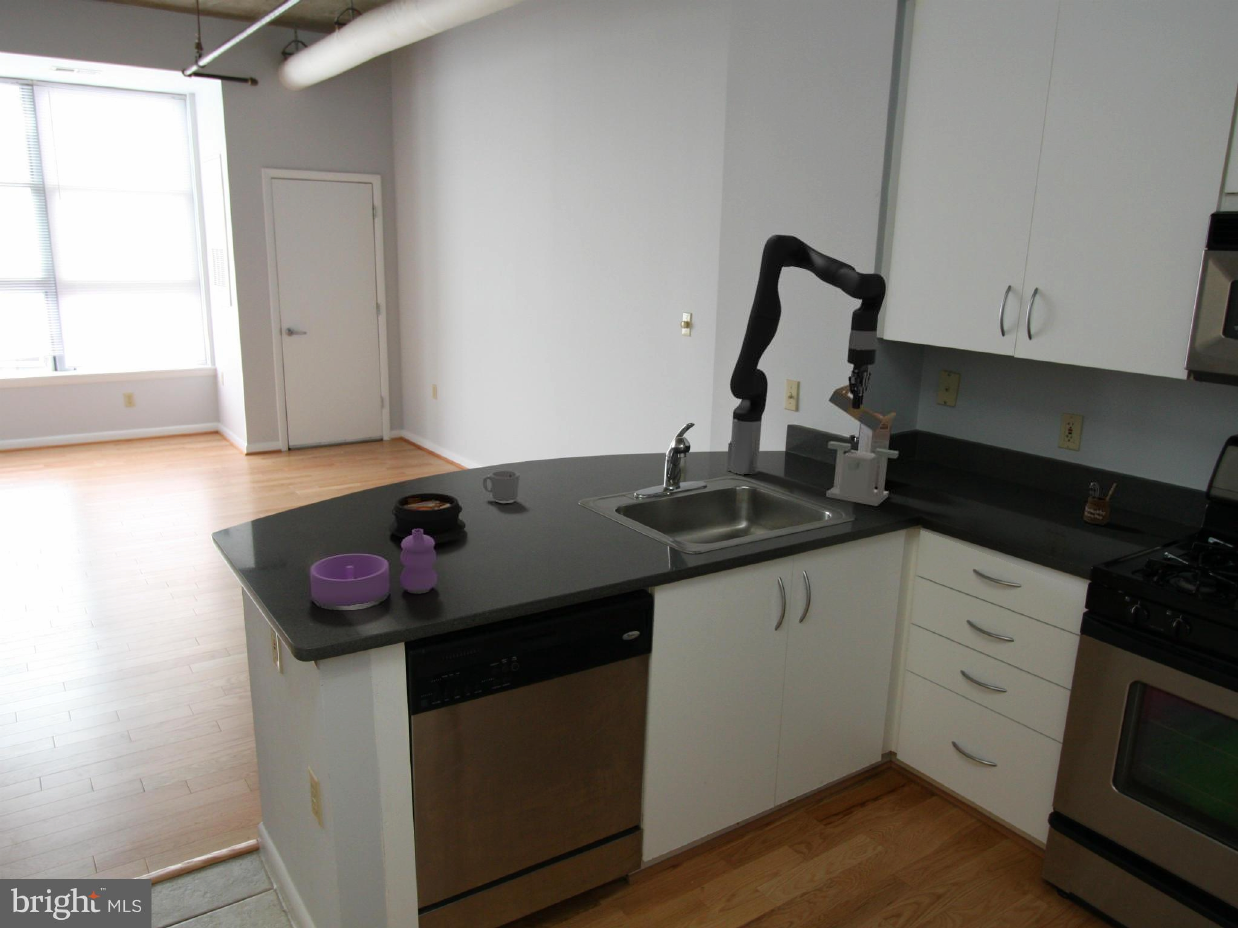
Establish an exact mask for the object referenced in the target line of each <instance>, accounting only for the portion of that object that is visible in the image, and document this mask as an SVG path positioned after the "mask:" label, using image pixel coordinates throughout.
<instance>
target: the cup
mask: <svg viewBox="0 0 1238 928" xmlns="http://www.w3.org/2000/svg"><path fill="white" fill-rule="evenodd" d="M520 476H521V475H520V473H519V472H517V471H514V470H496V471H493V472H491V473H490V475H485V476H484V477H483V480H482V486H483V488H484V490H485V491H486V492H488V493H492V499H495V500H498V501H509V500H515V499H516V500H517V499H518V493H519V486H520V485H519V484H520ZM489 480H490V483H491V488H489V487H488V483H487V482H488V481H489Z"/></svg>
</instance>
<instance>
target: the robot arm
mask: <svg viewBox="0 0 1238 928" xmlns="http://www.w3.org/2000/svg"><path fill="white" fill-rule="evenodd" d="M791 267H793V268H797V269H798V268H799V269H803V270H805V271H808V272H809V273H810V272H811V273H812V274H814V276H816V278H818V279H819V280H820V281H822V282H824V283H826V284H828V285H831V286H832V287H835V288H837V289H840V290H841V291H842V292H843V293H845V294H846V295H847V296H849V297H850V298H853V299H855V300H860V306H859V307H857V308H856V309H854V310H853V311H852V314H851V322H850V323H851V325H850V333H849V339H848V348H847V349H848V350H847V360H846V361H847V363H848V364H849V365H853V367H852V370H851V373H850V375H849V376H848V378H847V379H848V384H849V388H850V392H849V394H850V395H852V399H853V400H852V408H853V409H860V406H861V405H863V404H864V395H866V392H867V391H868V387H869V384H870V379H871V376H872V373H871V371H870V370H869V366H872V365H874V364H876V356H877V355H876V354H877V344H878V334H877V333H878V323H879V322H878V321H879V314H880V311H881V309H882V307H883V303H884V300H885V296H886V292H887V286H886V285H887V284H886V281H885V278H884V277H883V275H881V274H879V273H873V272H872V273H871V272H870V273H863V272H861V271H857V269H856V268H855V267H854V266H853V265H851V264H849V263H847V262H844V261H841V260H840V259H837V258H834V257H832V256H829V255H827V254H824V253H822V252H820V251H818V250H817V249H815V248H813V247H811V246H810V245H809V244H807V243H806V242H804V241H803V240H802V239H800V238H798V237H796V236H794V235H790V234H789V235H788V234H773V235H771V236H770V237H769V238H768V239H767V240H766V242H765V244H764V246H763V250H762V255H761V261H760V267H759V273H758V281H757V285H756V289H755V294H754V298H753V302H752V306H751V309H750V312H749V316H748V319H747V320H748V321H747V325H746V329H745V334H744V337H743V341H742V344H741V349H740V352H739V355H738V358H737V360H736V363H735V365H734V368H733V371H732V375H731V377H730V381H729V387H730V389H729V390H730V391H731V392H730V393H731V394H732V396H733V397H734V398H735V399H738V400H741V401H740V403H739V404H738V405H737V406H736V407H735V408H734V409H733V412H732V421H731V436H730V437H731V438H730V439H731V440H730V441H728V445H727V457H726V458H727V459H726V471H728V472H730V471H731V473H733V474H736V473H737V474H738V475H744V474H750V475H756V474H758V472H759V463H760V462H759V461H760V448H761V447H760V446H761V445H760V444H761V433H762V421H763V420H762V419H763V415H764V412H765V410H766V404H767V398H768V397H767V396H768V386H769V385H768V378H767V375H766V374H765V372H764V371H763V370H762V369H760V368H758V366H759V363H760V360H761V358H762V356H763V355H764V354H765V352H766V350H767V348H768V347H769V345H770V344H771V342H772V341H773V339H774V338H775V336H776V333H777V332H778V328H779V325H780V320H781V317H782V303H781V302H782V301H781V299H780V294H779V283H780V282H779V281H780V278H781V277H780V276H781V273H782V270H783V268H791ZM863 406H864V405H863ZM737 474H736V475H737Z"/></svg>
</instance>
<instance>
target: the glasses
mask: <svg viewBox="0 0 1238 928" xmlns="http://www.w3.org/2000/svg"><path fill="white" fill-rule="evenodd" d="M849 394H850V388H849V383H848V384H845V385H844V386H841V387H838V388H836V389H835V390H833V393H832V394H831V395H830V397H829V399H828V402H829V403H831V404H832V405H834V406H836V408H838V409H840V410H841V411H843V412H844V413H846V414H847V415H848V416H850V417H852V418H853V419H854V420H856V421H858V422H859V423H860V424H861V423H862V424H863V425H865V426H866V427H868V428H869V429H871V430H872V431H874V432H875V433H876V432H877V431H878V429H879V428H880V426H881V425H882V423H884V422H886V423H885V424H886V425H889V424H890V423H891V424H892V422H893V420H894V418H895V417H896V415H897V413H896V412H894V411H892V412H891V413H889V414H887V415H885V416H883V418H881V417H879V416H878V415H876V414H875V412H874V411H872V410H870V409H869V408H868V407H866V406H865V405H861V406H860V409H853V408H852V400H853V397H851V396H850V395H849Z"/></svg>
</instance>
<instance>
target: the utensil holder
mask: <svg viewBox="0 0 1238 928" xmlns="http://www.w3.org/2000/svg"><path fill="white" fill-rule="evenodd" d="M1094 484H1095V486H1094V488H1098V489H1097V490H1098V492H1097V493H1095V494H1094V492H1089V494H1090V496H1089V497H1088V500H1087V501H1088V502H1087V503H1086V505H1085V508H1084V509H1085V510H1084V515H1083V521H1084V520H1086V521H1087V522H1090V523H1107V524H1108V521H1109V515H1110V502H1111V501H1110V499H1109V498H1110V496H1111V495H1112V493H1113V492H1114V489H1115V487H1116V485H1117V483H1116V482H1115V483H1113V485H1112V487H1111V489H1110V491H1109V492H1108V496H1107V497H1103V496H1099V493H1100V491H1099V489H1100V487H1099V485H1098V483H1097V482H1092V483H1091V484H1090V485H1089V487H1092V485H1094ZM1091 494H1092V495H1091Z"/></svg>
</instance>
